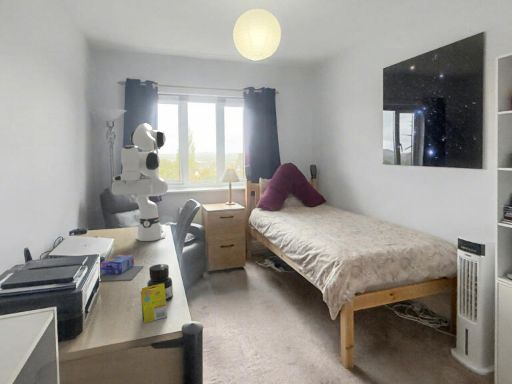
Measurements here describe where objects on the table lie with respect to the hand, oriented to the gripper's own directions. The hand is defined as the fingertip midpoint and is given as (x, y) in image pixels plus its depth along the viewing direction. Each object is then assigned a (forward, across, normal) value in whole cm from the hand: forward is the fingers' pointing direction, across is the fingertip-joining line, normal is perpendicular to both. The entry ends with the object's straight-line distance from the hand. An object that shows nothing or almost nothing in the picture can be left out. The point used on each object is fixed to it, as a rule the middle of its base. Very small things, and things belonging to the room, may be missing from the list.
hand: (133, 203), depth 164 cm
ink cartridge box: (+26, +1, +14) cm, 30 cm away
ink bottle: (+29, -26, +52) cm, 65 cm away
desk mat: (+29, -2, +25) cm, 38 cm away
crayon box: (+29, -28, +67) cm, 78 cm away
